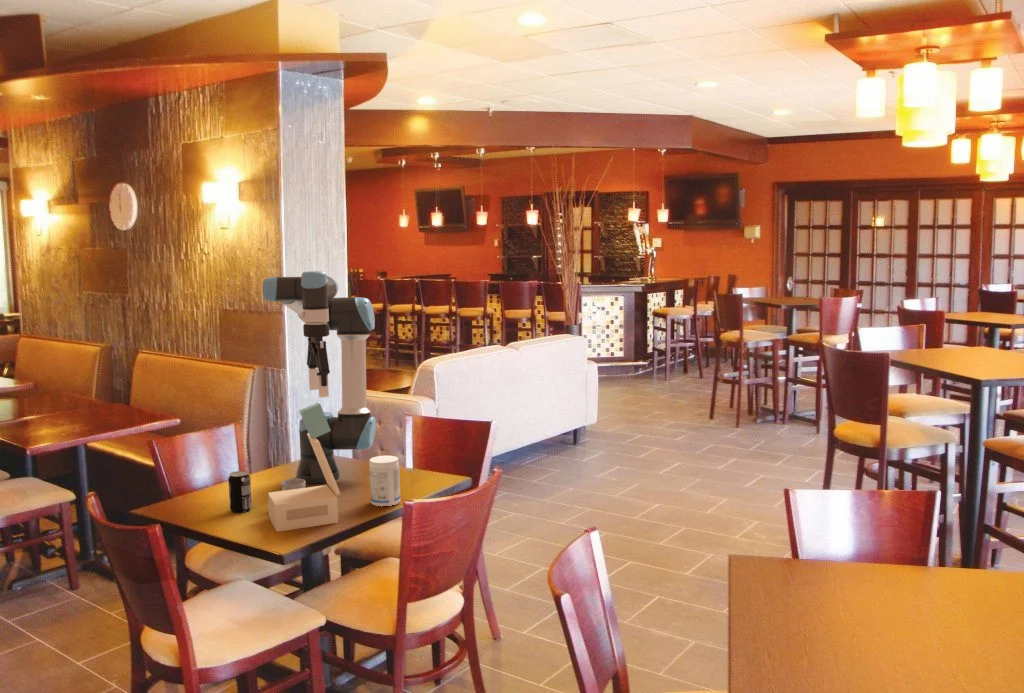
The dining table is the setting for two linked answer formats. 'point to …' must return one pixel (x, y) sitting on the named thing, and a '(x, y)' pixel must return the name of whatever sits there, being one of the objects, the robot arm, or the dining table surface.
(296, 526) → the carton
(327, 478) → the flap
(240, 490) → the beverage can
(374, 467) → the supplement tub
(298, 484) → the cup
